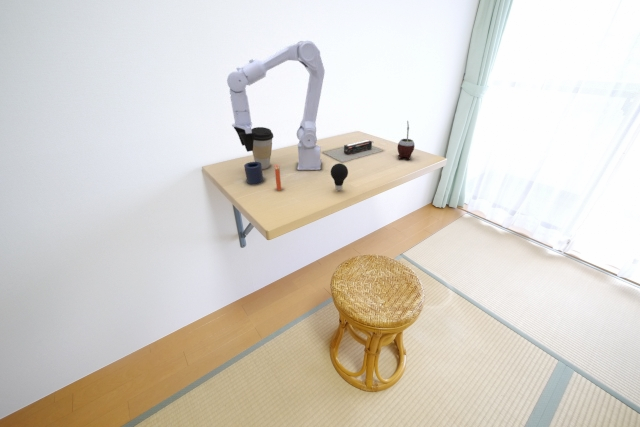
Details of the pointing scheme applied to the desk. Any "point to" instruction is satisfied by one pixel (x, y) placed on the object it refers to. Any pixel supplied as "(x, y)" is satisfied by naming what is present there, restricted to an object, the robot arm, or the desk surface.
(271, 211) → the desk surface
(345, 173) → the light bulb
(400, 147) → the mate gourd
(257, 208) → the desk surface
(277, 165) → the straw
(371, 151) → the model train on plate
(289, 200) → the desk surface
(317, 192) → the desk surface
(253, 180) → the navy hollow cylinder
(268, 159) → the coffee cup
